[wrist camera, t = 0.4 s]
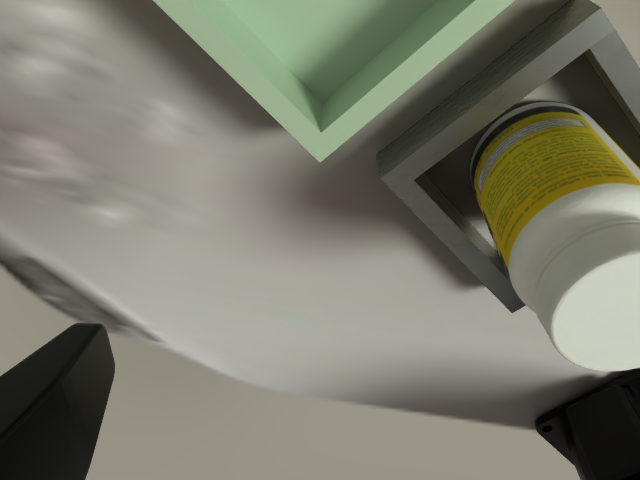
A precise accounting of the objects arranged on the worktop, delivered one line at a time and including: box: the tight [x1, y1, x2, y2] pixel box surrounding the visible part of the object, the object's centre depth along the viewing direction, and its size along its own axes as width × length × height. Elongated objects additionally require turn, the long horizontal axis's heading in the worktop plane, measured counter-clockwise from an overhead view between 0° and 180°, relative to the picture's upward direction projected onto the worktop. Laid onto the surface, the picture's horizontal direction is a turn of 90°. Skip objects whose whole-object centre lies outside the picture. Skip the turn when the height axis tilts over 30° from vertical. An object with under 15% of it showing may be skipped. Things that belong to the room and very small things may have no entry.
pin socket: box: [377, 0, 640, 313], centre depth 20 cm, size 8×8×2 cm
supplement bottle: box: [470, 102, 640, 371], centre depth 18 cm, size 5×5×8 cm
